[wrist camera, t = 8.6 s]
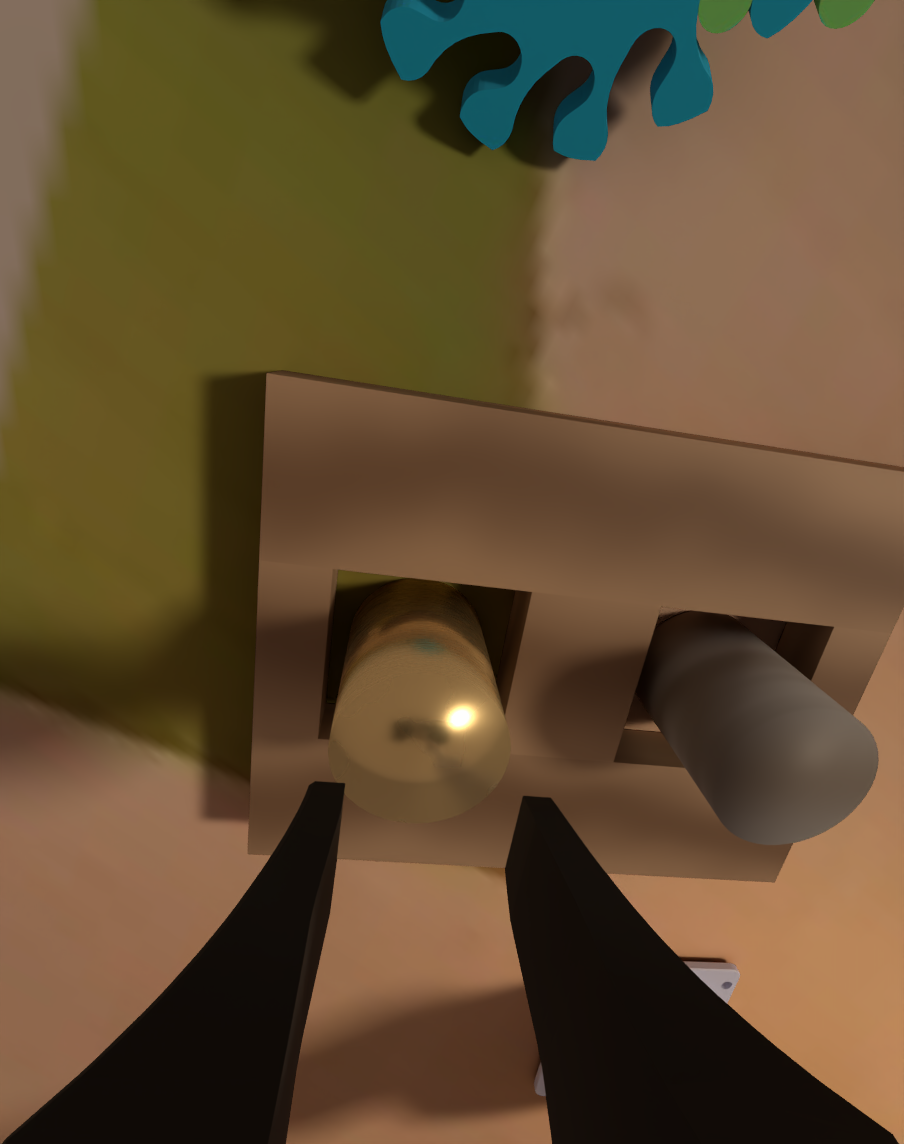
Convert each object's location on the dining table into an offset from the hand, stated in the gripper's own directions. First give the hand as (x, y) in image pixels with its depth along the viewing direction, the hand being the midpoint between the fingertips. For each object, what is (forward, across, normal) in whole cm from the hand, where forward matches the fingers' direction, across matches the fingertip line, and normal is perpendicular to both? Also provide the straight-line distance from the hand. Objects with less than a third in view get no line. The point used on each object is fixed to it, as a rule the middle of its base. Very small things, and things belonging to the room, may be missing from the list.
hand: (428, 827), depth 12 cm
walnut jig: (+8, -5, 0) cm, 10 cm away
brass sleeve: (+8, 0, 0) cm, 9 cm away
